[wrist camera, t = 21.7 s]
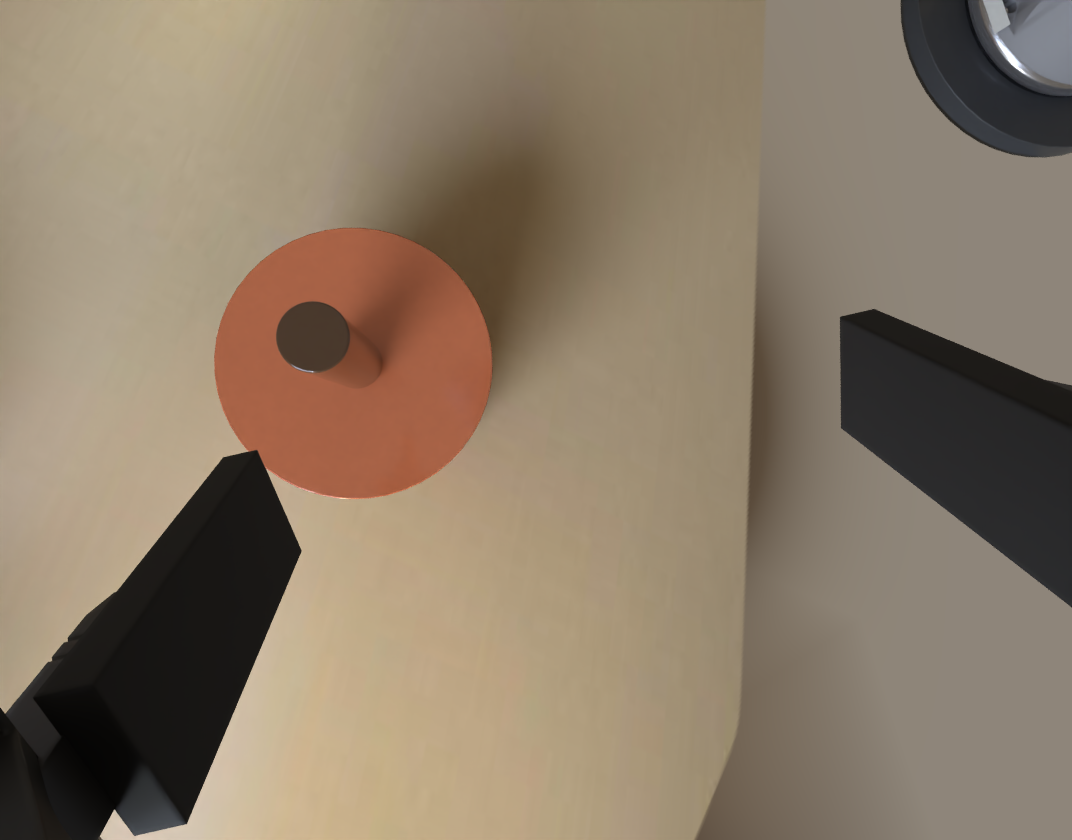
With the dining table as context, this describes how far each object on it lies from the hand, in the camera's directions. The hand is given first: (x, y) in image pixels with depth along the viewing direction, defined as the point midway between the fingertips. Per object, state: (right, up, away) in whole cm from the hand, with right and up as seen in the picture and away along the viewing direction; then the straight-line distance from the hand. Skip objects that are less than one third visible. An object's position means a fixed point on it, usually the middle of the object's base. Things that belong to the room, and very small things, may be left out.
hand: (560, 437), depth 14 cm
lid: (-10, +3, +18) cm, 21 cm away
